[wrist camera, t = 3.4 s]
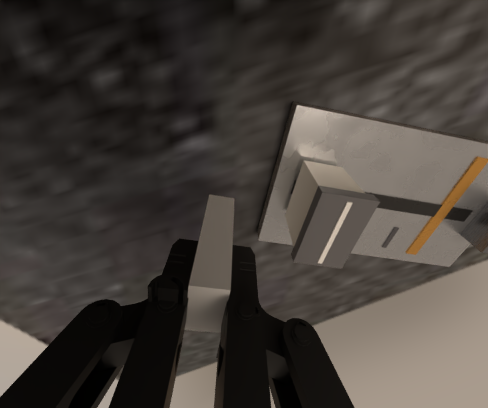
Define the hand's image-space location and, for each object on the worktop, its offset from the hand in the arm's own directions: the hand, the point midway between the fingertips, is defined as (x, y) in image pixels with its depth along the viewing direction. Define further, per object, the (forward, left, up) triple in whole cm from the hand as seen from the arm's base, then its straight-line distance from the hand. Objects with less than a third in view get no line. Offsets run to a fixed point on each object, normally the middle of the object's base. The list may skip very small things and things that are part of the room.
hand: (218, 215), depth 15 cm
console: (0, +14, -7) cm, 15 cm away
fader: (0, +7, -4) cm, 8 cm away
